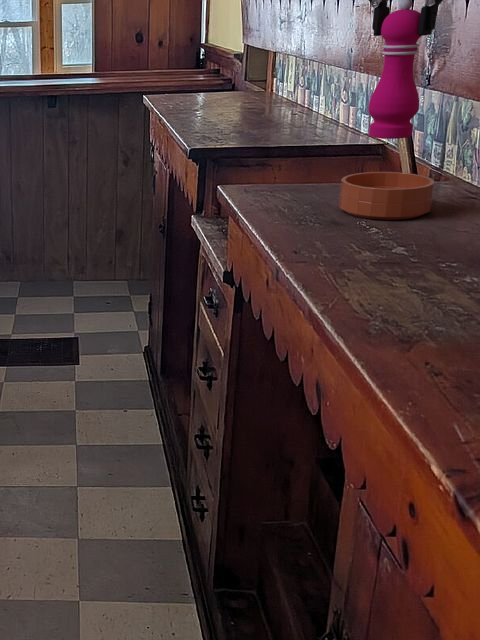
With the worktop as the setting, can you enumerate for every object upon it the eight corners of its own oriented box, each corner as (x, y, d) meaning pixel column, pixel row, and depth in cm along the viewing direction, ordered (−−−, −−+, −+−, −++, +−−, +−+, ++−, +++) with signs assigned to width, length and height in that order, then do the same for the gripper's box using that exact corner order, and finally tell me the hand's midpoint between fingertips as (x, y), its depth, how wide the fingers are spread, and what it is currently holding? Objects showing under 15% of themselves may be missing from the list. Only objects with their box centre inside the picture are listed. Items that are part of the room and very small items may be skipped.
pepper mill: (392, 130, 139) (408, -4, 132) (426, 136, 133) (445, -4, 125) (355, 135, 137) (369, -1, 130) (387, 141, 131) (404, -2, 123)
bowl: (444, 208, 140) (449, 177, 138) (406, 225, 131) (410, 193, 129) (363, 197, 149) (366, 168, 147) (323, 213, 141) (326, 182, 139)
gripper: (493, -107, 119) (472, 33, 126) (371, -93, 131) (358, 34, 138) (471, -108, 114) (451, 36, 121) (347, -94, 126) (335, 37, 133)
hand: (402, 34), depth 129 cm, fingers closed on pepper mill, 6 cm apart
